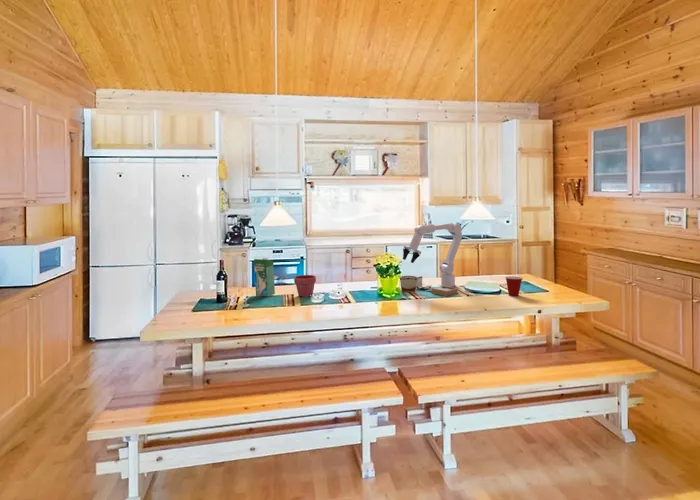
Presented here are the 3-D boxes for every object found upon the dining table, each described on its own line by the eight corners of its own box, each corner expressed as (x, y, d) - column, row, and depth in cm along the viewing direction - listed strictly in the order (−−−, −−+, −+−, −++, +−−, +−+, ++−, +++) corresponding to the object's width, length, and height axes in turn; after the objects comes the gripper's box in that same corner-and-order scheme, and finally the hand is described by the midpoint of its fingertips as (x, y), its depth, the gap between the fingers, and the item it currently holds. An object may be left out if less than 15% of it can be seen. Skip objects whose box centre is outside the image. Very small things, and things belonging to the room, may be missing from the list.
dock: (433, 289, 330) (433, 283, 330) (457, 293, 315) (457, 288, 314) (421, 291, 323) (421, 286, 322) (446, 296, 307) (446, 291, 307)
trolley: (421, 286, 335) (421, 276, 334) (431, 288, 328) (431, 277, 327) (414, 288, 331) (414, 277, 330) (424, 290, 324) (424, 279, 323)
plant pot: (304, 292, 327) (303, 273, 325) (320, 294, 319) (320, 275, 317) (290, 296, 315) (289, 277, 314) (306, 299, 307) (306, 279, 305)
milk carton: (274, 294, 324) (273, 257, 320) (267, 297, 316) (265, 259, 312) (263, 293, 327) (262, 256, 324) (255, 295, 319) (254, 258, 316)
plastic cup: (522, 293, 308) (523, 275, 306) (522, 297, 298) (523, 278, 296) (504, 293, 312) (505, 274, 310) (504, 296, 301) (504, 278, 300)
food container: (417, 290, 326) (417, 275, 325) (417, 292, 320) (417, 277, 319) (399, 290, 327) (399, 275, 326) (399, 292, 321) (399, 277, 320)
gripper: (404, 238, 327) (396, 256, 328) (419, 243, 317) (412, 262, 317) (410, 241, 332) (403, 259, 332) (425, 246, 322) (418, 265, 322)
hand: (407, 261), depth 325 cm, fingers open, 7 cm apart
